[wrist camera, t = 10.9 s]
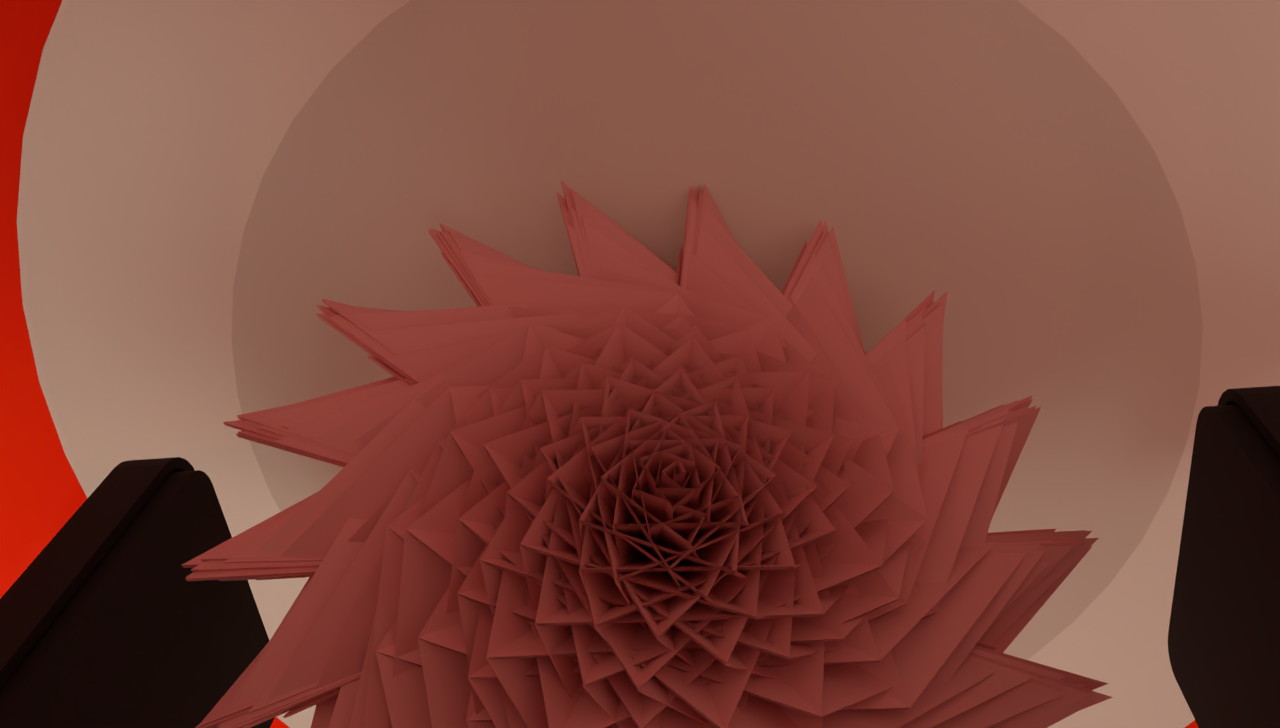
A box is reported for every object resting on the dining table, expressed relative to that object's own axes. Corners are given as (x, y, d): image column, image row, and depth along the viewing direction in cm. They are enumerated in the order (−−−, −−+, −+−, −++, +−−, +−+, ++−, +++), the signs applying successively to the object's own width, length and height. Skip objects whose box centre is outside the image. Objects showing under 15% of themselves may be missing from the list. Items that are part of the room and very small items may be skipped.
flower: (720, 1250, 10) (868, 1541, 5) (121, 713, 12) (-179, 561, 7) (1087, 589, 14) (1393, 391, 9) (571, 240, 15) (577, -89, 10)
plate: (-159, -274, 11) (-259, -277, 10) (1565, -540, 9) (1682, -583, 8) (274, 812, 19) (244, 880, 18) (1280, 789, 17) (1319, 865, 16)
